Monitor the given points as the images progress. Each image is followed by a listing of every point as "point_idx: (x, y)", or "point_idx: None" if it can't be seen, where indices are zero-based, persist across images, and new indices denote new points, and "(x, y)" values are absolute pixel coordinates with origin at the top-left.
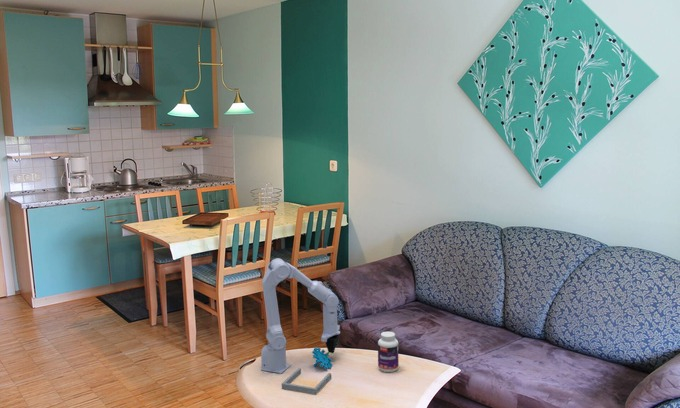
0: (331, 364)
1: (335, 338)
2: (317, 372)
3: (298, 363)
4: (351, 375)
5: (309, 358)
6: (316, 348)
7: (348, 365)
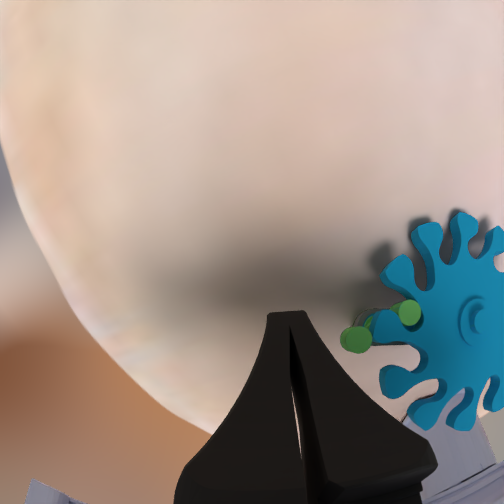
0: (436, 228)
1: (397, 476)
2: (497, 266)
3: None
4: (499, 25)
5: None
6: (459, 423)
7: (366, 76)
